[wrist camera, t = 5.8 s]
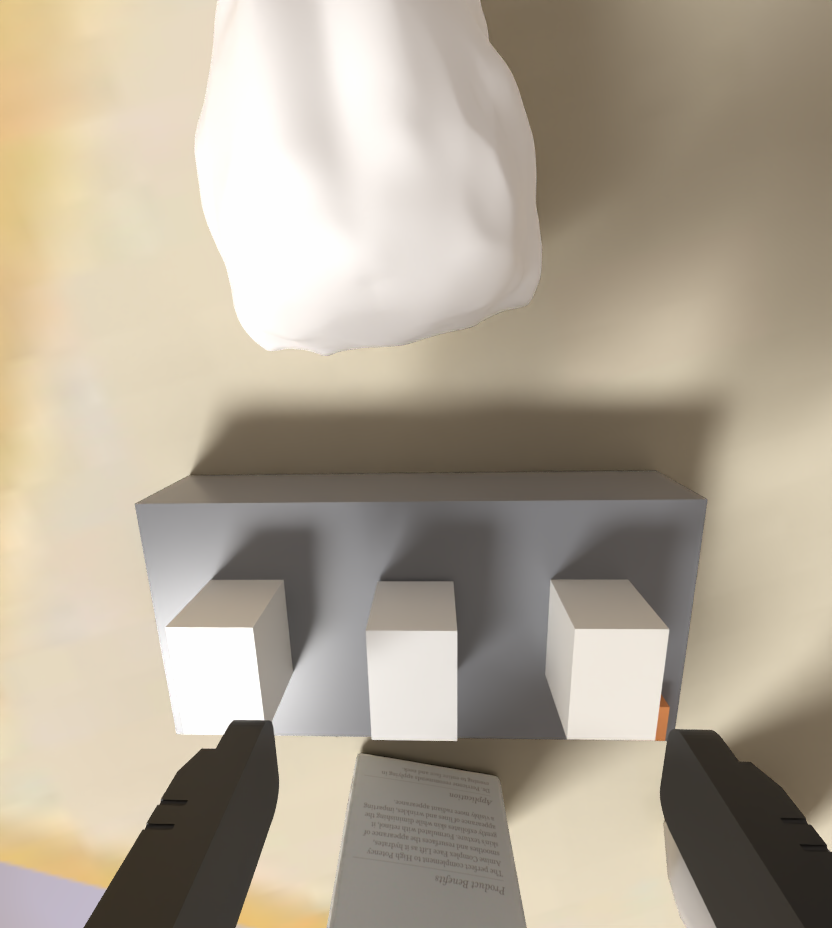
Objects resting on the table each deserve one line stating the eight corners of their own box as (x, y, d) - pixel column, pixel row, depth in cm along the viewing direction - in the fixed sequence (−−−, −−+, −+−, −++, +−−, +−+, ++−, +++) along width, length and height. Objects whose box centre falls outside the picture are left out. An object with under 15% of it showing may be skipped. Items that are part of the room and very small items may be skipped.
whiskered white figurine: (154, 367, 7) (-126, -796, 5) (316, 380, 15) (235, -40, 13) (609, 286, 6) (481, -1044, 4) (511, 347, 14) (454, -95, 13)
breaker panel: (188, 475, 16) (71, 537, 11) (656, 470, 15) (769, 534, 10) (217, 671, 18) (129, 804, 13) (633, 675, 17) (718, 816, 12)
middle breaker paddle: (377, 581, 13) (365, 630, 11) (453, 581, 13) (457, 631, 11) (381, 675, 14) (371, 739, 12) (453, 675, 14) (457, 740, 12)
